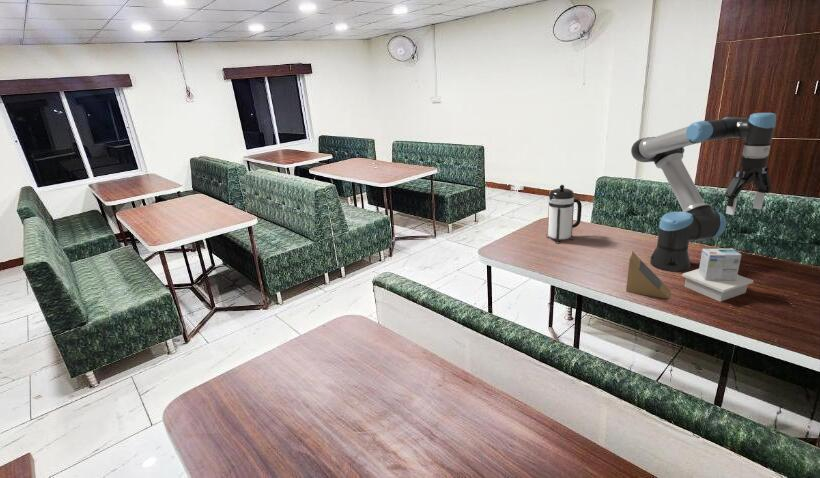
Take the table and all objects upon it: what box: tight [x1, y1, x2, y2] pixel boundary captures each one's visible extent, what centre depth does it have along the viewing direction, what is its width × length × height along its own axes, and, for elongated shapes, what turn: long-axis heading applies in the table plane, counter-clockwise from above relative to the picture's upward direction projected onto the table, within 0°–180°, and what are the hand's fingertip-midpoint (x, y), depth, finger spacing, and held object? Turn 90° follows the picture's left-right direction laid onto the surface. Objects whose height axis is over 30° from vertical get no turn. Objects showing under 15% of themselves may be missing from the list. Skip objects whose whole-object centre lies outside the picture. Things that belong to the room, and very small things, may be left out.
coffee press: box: [545, 184, 583, 243], centre depth 218 cm, size 17×16×30 cm
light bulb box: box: [698, 247, 742, 280], centre depth 156 cm, size 11×7×11 cm, turn 79°
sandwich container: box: [625, 250, 672, 300], centre depth 161 cm, size 9×15×15 cm, turn 58°
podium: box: [681, 268, 754, 302], centre depth 159 cm, size 16×16×6 cm
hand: (743, 211), depth 158 cm, fingers open, 13 cm apart
